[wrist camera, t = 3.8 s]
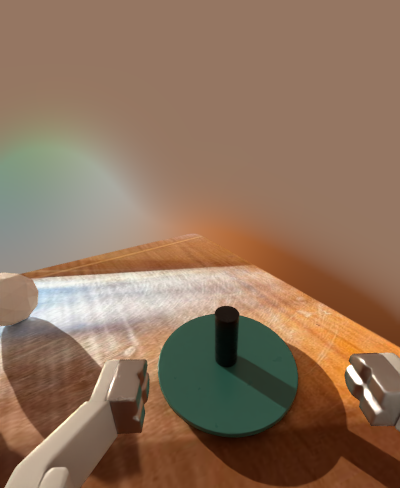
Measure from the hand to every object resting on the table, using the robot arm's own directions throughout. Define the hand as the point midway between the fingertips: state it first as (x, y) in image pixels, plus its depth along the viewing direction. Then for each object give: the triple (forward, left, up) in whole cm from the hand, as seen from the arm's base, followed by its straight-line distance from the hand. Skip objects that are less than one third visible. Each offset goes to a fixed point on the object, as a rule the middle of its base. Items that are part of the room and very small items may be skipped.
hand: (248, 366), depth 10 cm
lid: (+12, -3, -14) cm, 18 cm away
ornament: (+26, +24, -15) cm, 38 cm away
